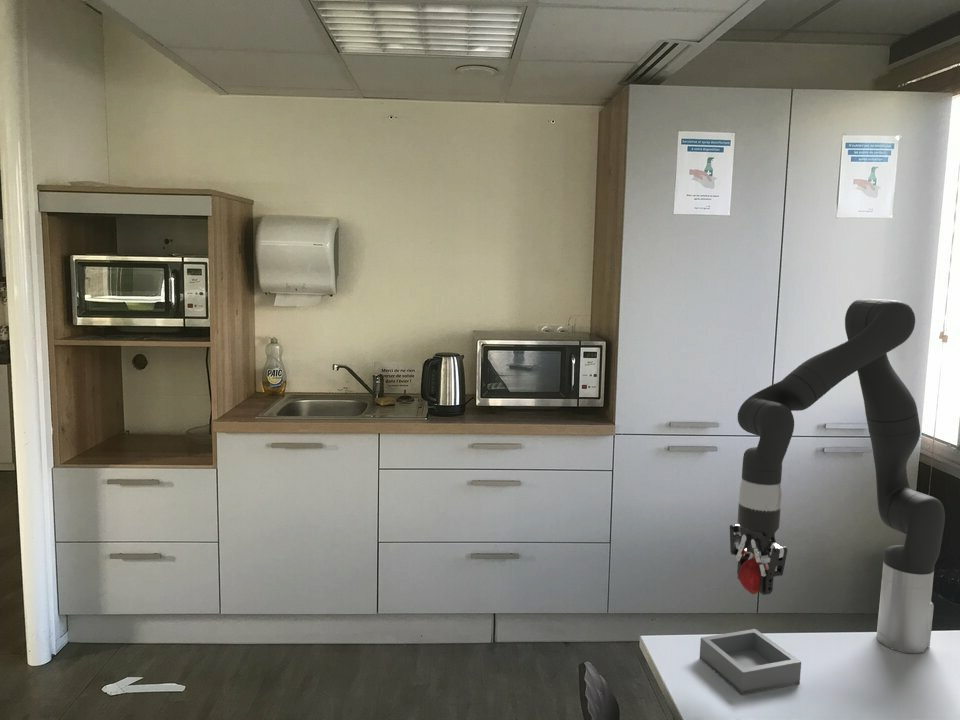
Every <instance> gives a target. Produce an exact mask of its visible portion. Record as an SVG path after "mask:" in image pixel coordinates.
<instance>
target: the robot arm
mask: <svg viewBox="0 0 960 720" xmlns="http://www.w3.org/2000/svg"><path fill="white" fill-rule="evenodd" d="M915 326H916V316H915V312H914V310H913V309H912V307H911V306H910V305H909V304H907V303H906V302H905V301H900V300H896V299H884V298H881V299H879V298H859V299H857V300H854V301H853V302H851V303H850V304H849V306H848V307H847V310H846V313H845V316H844V327H845V328H844V329H845V334H846V338H847V340H846V341H845V342H843V343H841V344H839V345H836V346H834V347H832V348H830V349H828V350H825V351H823V352H820V353H818V354H816V355H814V356H812V357H810V358H809V359H807V360H805V361H804V362H802V363H801V364H800V365H798V366H797V367H796V368H794V369H793V370H792V371H791V372H790V373H788V374H787V375H786V376H785V377H784V378H783V379H781V380H780V381H777V382H776V383H774V384H772V385H769V386H767V387H765V388H763V389H761V390H759V391H757V392H756V393H753V394H752V395H751V396H749V397H748V398H747V399H745V400H744V401H743V403H742V404H741V405H740V407H739V409H738V413H737V422H738V425H739V427H741V429H742V430H743V431H745V432H746V433H750V434H752V435H755V436H758V437H759V440H758V443H757V446H754V447H753V446H752V447H750V448H748V449H746V450H745V451H744V452H743V456H742V468H741V480H740V481H741V482H740V486H739V493H738V507H737V509H738V510H737V523H736V524H730V525H729V542H730V543H729V545H730V547H729V548H730V550H729V551H730V554H731V555H732V556H735V558H736V559H735V560H736V561H737V574H736V575H737V580H739V569H740V567H741V565H742V564H743V563H744V562H745V561H747V560H749V559H751V558H752V557H753V555H755V558H756V562H757V563H758V564H759V566H760V570H761V574H762V575H761V577H760V592H759V594H761V595H763V596H764V595H770V594H771V593H772V592H773V590H774V588H773V587H774V578H775V577H781V576H783V574H784V571H785V570H784V569H785V564H786V560H787V554H788V548H787V546H786V545H785V546H780V545H779V544H778V543H777V542H776V541H777V540H776V536H775V534H776V532H778V530H779V529H780V523H781V510H782V509H781V508H782V496H783V495H782V493H783V492H782V473H783V461H784V459H785V456H786V453H787V451H788V447H789V445H790V443H791V439H792V437H793V433H794V430H795V419H794V414H793V412H794V411H796V412H797V411H798V412H799V411H805V410H807V409H808V408H810V407H812V406H813V405H814V404H815V403H816V402H817V401H818V400H820V399H821V398H822V397H824V396H825V395H826V394H827V393H828V392H830V390H831V389H833V388H834V387H835V386H836V385H838V384H839V383H841V382H842V381H843V380H845V379H847V378H848V377H849V376H851V375H852V374H855V373H856V372H857V375H858V380H859V384H860V388H861V393H862V398H863V404H864V410H865V411H864V412H865V417H866V422H867V427H868V428H867V429H868V433H869V437H870V443H871V449H872V455H873V456H872V457H873V462H874V469H875V479H876V498H877V509H878V514H879V518H880V519H881V521H882V522H883V524H884V525H886V526H888V527H889V528H890V529H892V530H896V531H897V532H900V533H901V534H905V540H904V544H898V545H895V544H893V545H890V546H887V547H886V548H885V549H884V552H883V560H882V561H883V563H882V571H881V572H882V573H881V574H882V575H881V585H880V597H879V605H878V607H879V608H878V617H877V625H876V626H877V629H876V640H877V641H878V642H879V643H881V644H882V645H883V646H885V647H887V648H890V649H892V650H893V651H898V652H902V653H907V654H921V653H925V651H926V650H927V648H928V647H930V646H931V638H932V637H931V636H932V628H933V627H932V626H933V617H934V608H935V607H934V602H932V595H933V586H934V584H933V583H934V575H935V565H936V563H937V561H938V558H939V556H940V553H941V546H942V541H943V535H944V529H945V522H946V513H945V508H944V505H943V503H942V501H941V500H939V499H938V498H936V497H934V496H931V495H930V494H926V493H923V492H919V491H917V490H914V489H912V487H911V486H910V484H909V479H908V478H909V477H908V472H907V465H908V461H909V459H910V457H911V455H912V454H913V452H914V450H915V449H916V447H917V445H918V444H919V441H920V438H921V423H920V420H919V419H920V418H919V412H918V406H917V404H916V401H915V398H914V397H913V395H912V393H911V392H910V390H909V389H908V387H907V385H906V384H905V383H904V382H903V380H902V379H901V378H900V376H899V375H898V373H897V372H896V371H895V369H894V367H893V366H892V364H891V363H890V360H889V357H888V353H889V352H890V351H893V350H895V349H896V348H898V347H899V346H901V345H902V344H903V343H905V342H907V340H909V338H910V337H911V336H912V334H913V332H914V330H915ZM737 546H738V547H737ZM763 557H767V558H763ZM765 564H766V565H765ZM766 566H767V567H768V569H766Z"/></svg>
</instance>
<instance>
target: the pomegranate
mask: <svg viewBox="0 0 960 720" xmlns="http://www.w3.org/2000/svg"><path fill="white" fill-rule="evenodd" d="M765 565H766V569H768V568H769V567H768V565H767V563H766V564H765ZM761 575H762V574H761V570H760V566H759V564H758V563H757V562H756V558H755V555H754V554H752V556H751V558H750V559H749V560H747V561H745V562H744V563H743V564H742V565H741V567H740V569H739V579H738V580H739V582H740V584H741V585H742V587H743V588H744V589H745V590H746V591H747V592H749V593H750V594H752V595H756V594H758V593H759V594H760V577H761Z"/></svg>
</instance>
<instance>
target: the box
mask: <svg viewBox="0 0 960 720" xmlns="http://www.w3.org/2000/svg"><path fill="white" fill-rule="evenodd" d="M699 646H700V647H699V659H700V660H701V661H702V662H703V663H704V664H705V665H706V664H707V666H708V668H710V669H711V670H712V671H713V670H714V671H715V674H716V675H718V676H719V677H720V678H721V679H722V680H723V681H725V682H726V683H727V684H728V685H729V686H730V687H732V688H733V690H735V691H736V692H737V693H738V694H740V695H741V696H744V695H749V694H753V693H754V694H755V693H760V692H764V691H770V690H774V689H780V688H784V687H785V688H786V687H790V686H796V685H800V684H801V669H802V661H801V660H800V659H798V658H797V657H796V656H794V655H792V654H791V652H789V651H787V650H785V649H784V648H783V647H782V646H780V645H779V644H778V643H776V642H774V641H773V640H772V639H770V638H769V637H768V636H766V635H765V634H763V632H761V631H759V630H758V629H756V628H752V629H746V630H739V631H734V632H733V631H732V632H727V633H720V634H716V635H709V636H703V637H700V644H699ZM714 671H713V672H714Z"/></svg>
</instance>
